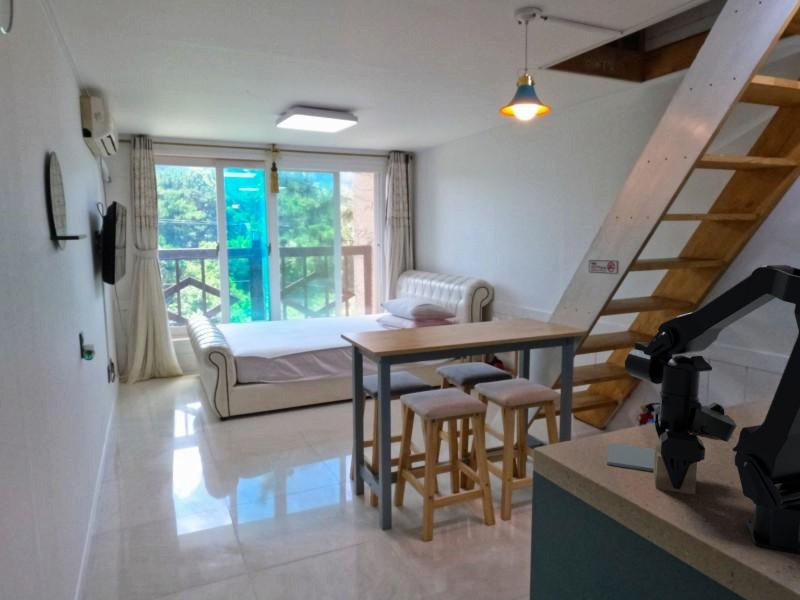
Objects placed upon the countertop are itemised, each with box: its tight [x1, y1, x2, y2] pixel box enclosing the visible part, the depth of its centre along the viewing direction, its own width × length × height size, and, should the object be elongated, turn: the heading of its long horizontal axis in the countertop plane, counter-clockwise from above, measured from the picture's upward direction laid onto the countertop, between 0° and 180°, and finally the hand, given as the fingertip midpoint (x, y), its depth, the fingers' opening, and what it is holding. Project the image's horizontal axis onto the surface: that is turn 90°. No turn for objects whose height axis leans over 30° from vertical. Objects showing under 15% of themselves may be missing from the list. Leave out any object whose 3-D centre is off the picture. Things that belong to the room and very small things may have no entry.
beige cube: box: [653, 443, 698, 495], centre depth 92 cm, size 6×6×6 cm
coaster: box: [606, 442, 655, 473], centre depth 103 cm, size 10×10×1 cm
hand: (673, 476), depth 92 cm, fingers open, 9 cm apart
